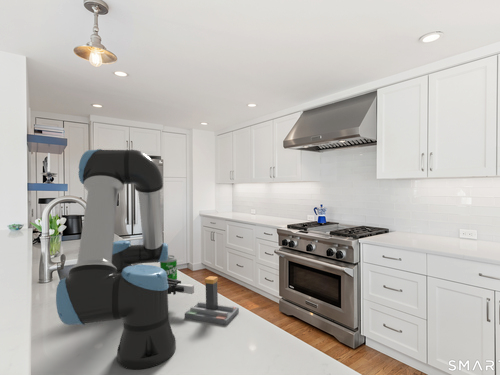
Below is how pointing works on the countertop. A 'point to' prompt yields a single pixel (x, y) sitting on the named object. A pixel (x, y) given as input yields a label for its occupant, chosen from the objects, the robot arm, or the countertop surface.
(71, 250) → the countertop surface
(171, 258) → the soda can
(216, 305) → the breaker handle
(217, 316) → the grey base
